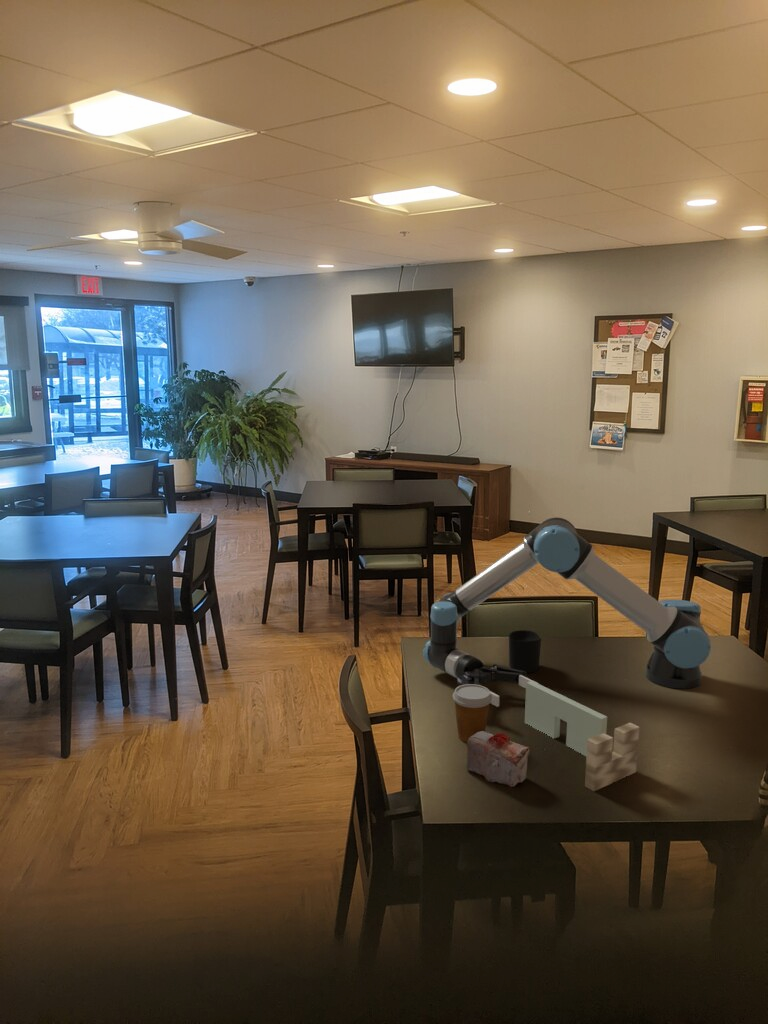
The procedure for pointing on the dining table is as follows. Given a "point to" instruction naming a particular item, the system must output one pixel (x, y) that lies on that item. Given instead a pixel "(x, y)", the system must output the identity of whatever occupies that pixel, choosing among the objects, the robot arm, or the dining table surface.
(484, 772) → the food item
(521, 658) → the pen holder
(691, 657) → the robot arm
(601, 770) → the birch slotted plate
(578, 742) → the sage slotted plate
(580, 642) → the dining table surface
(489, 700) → the disposable coffee cup
